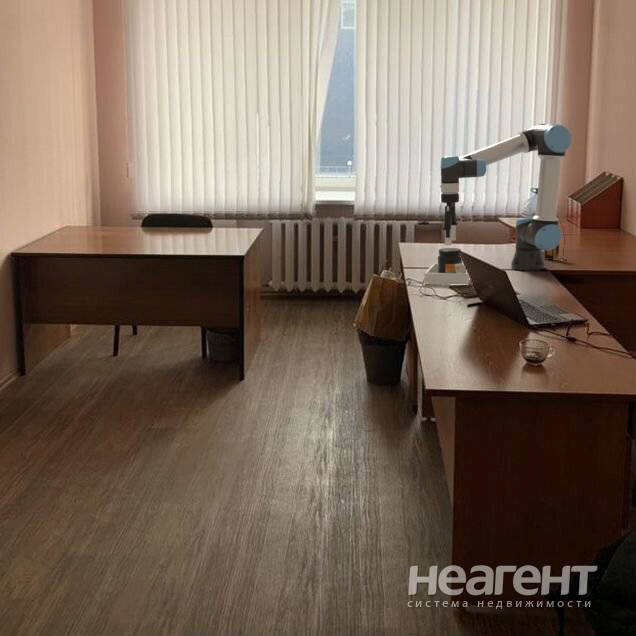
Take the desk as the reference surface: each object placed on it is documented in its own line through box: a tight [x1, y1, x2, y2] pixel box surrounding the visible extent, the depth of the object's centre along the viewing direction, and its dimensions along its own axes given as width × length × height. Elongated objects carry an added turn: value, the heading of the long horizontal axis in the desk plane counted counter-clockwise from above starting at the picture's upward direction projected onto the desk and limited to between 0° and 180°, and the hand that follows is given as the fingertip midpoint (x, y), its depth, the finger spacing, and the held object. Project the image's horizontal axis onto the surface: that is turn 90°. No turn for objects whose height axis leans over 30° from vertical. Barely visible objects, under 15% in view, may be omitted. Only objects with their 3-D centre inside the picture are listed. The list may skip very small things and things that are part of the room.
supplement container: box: [437, 247, 463, 274], centre depth 434 cm, size 10×10×12 cm
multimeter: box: [542, 219, 566, 261], centre depth 480 cm, size 15×10×20 cm
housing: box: [423, 263, 470, 286], centre depth 434 cm, size 24×18×5 cm
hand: (450, 242), depth 432 cm, fingers open, 13 cm apart
